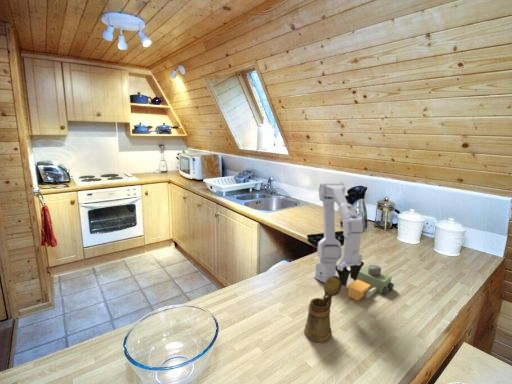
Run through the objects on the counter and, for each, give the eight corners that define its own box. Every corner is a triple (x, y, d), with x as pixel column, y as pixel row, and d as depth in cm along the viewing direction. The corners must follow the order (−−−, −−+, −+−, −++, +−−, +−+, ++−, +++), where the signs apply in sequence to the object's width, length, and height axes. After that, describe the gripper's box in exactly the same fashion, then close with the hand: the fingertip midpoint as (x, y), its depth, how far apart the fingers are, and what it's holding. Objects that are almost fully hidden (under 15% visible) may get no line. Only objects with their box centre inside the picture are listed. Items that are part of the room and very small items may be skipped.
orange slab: (359, 301, 114) (360, 291, 113) (346, 295, 119) (347, 285, 118) (369, 294, 120) (370, 285, 119) (356, 288, 124) (357, 279, 123)
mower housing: (376, 302, 115) (378, 282, 113) (343, 287, 125) (345, 269, 123) (393, 288, 125) (395, 270, 123) (362, 276, 135) (364, 259, 133)
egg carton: (303, 241, 178) (303, 235, 177) (338, 233, 193) (338, 227, 192) (323, 251, 163) (323, 245, 162) (359, 242, 178) (360, 236, 177)
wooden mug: (345, 329, 99) (349, 280, 95) (319, 347, 91) (323, 295, 87) (323, 316, 106) (327, 270, 102) (298, 331, 97) (301, 282, 93)
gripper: (350, 257, 101) (347, 292, 104) (371, 247, 110) (367, 279, 113) (333, 251, 106) (330, 285, 109) (354, 241, 115) (351, 273, 118)
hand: (348, 281), depth 111 cm, fingers open, 7 cm apart
